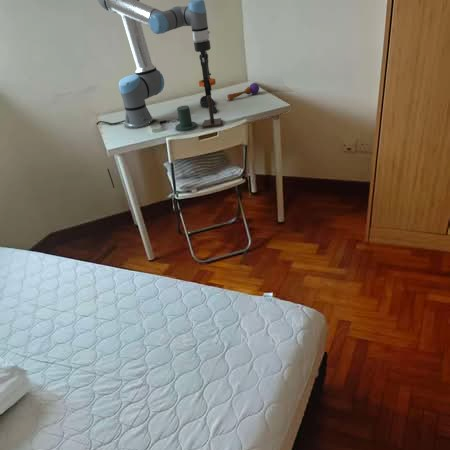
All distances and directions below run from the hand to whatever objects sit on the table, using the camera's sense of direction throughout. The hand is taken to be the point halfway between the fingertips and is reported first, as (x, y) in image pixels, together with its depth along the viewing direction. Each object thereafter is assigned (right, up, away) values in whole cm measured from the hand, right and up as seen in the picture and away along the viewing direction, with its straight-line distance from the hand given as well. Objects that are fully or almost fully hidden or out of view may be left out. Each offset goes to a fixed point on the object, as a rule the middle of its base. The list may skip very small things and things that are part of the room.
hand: (208, 92), depth 208 cm
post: (+2, -11, +10) cm, 15 cm away
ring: (0, +3, -3) cm, 4 cm away
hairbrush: (0, +8, +32) cm, 33 cm away
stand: (-12, -13, +11) cm, 21 cm away
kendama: (+20, +17, +39) cm, 47 cm away
